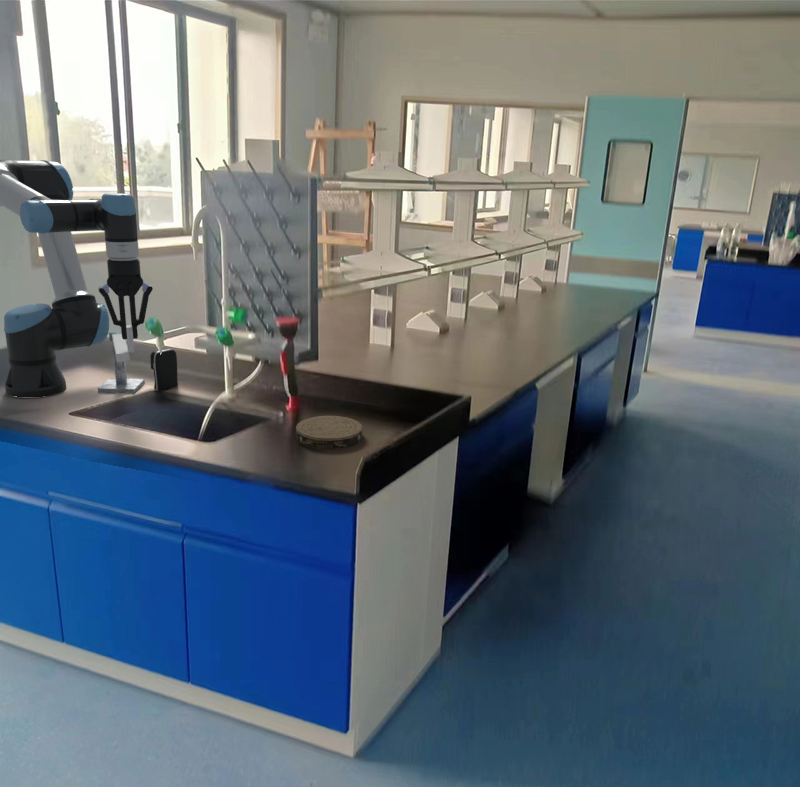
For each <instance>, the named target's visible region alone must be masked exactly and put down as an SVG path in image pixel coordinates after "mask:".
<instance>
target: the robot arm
mask: <svg viewBox="0 0 800 787" xmlns="http://www.w3.org/2000/svg"><path fill="white" fill-rule="evenodd" d="M73 185H74V184H73V181H72V178H71V176H70V174H69V172H68V170H67V169H66V168H65V166H63V165H62V164H61V163H59V162H57V161H50V160H41V159H40V160H24V159H23V160H20V159H19V160H18V159H16V160H15V159H0V207H3V208H6V209H8V210H10V212H12V213H14V214H16V215H17V216H18V217H19V218H20V222H21V224H22V226H23V229H24V230H26V232H28V233H33V234H34V233H35V234H37V235H38V238H39V243H40V245H41V249H42V253H43V256H44V260H45V264H46V267H47V270H48V271H47V272H48V274H49V278H50V282H51V285H52V289H53V293H54V296H55V298H54V299H53V301H52V302H51V306H50V304H48V303H35V304H33V303H32V304H31V303H29V304H24V305H21V306H17V307H14V308H12V309H9V310H8V311H7V312H6V313H5V314H4V316H3V324H4V325H3V331H4V334H5V341H6V348H7V356H8V363H9V364H8V366H9V367H8V370H7V375H6V380H5V384H4V390H5V394H6V395H7V394H8V395H11V396H17V397H40V398H44V397H43V396H46V397H51V396H55V395H58V394H61V393H63V392H64V391H65V390H66V389H67V382H66V378H65V376H64V374H63V372H62V371H61V368H60V367H59V366H60V365H59V364H58V361H57V354H56V352H57V351H64V350H69V349H76V348H82V347H84V348H85V347H88V348H89V347H92V346H96V345H99V344H100V345H101V344H103V343H104V342H105V341H106V339H107V338H108V336H109V330H110V318H111V321H112V325H114V326H117V327H120V329H121V330H120V331H121V332H122V338H123V339H126V344H127V347H128V351H129V354H130V353H131V354H132V353H135V346H134V345H135V344H134V343H135V342H134V339H135V340H137V339H138V337H139V336H138V335H139V334H138V326H139V325H142V324H144V323H145V319H146V314H147V313H146V312H147V308H148V302H149V299H150V298H149V296H150V295H151V293H152V291H153V287H152V285H151V284H148V283H146V282H144V279H143V277H142V276H141V265H140V264H141V262H140V260H139V259H138V258H139V256H140V249H139V239H138V226H137V225H138V224H137V222H138V221H137V208H136V203H135V197H134V195H133V194H131V193H121V192H120V193H119V192H117V193H116V192H115V193H114V192H108V193H106V192H105V193H103V194H102V195H101V198H89V199H73V198H74V190H73V188H74V186H73ZM94 231H97V232H98V231H99V232H100V231H101V232H102V231H103V232H104V240H105V242H104V243H105V252H106V257H107V258H108V259H107V260H106V262H107V275H108V277H107V280H106V283H105V284H104V285H102V286H99V287H98V292H99V293H100V295H101V296H102V298H104V301H105V304H106V306H105V304H104V303H100V302H97V300H96V297H95V295H94V294H93V293H91V292H89V291H88V287H87V285H86V281H85V280H86V279H85V276H84V273H83V270H82V266H81V263H80V259H79V256H78V252H77V249H76V244H75V241H74V238H73V234H72V232H94ZM110 289H111V290H112V292H113V293H114V294H115V295H116V296H117V298H118V310H119V319H118V317H117V314H116V311H115V308H114V306H113V303H112V300H111V298H110V295H109V293H110ZM140 289H141V291H142V292H143V293H142V298H141V303H140V307H139V315H138V318H137V310H136V308H137V307H136V297H135V296H136V295H137V293H138V292H139V290H140ZM125 297H128V298H129V299H128V300H129V312H130V321H131V322H130V324H127V320H126V319H127V318H126V309H125V308H126V307H125V305H126V304H125ZM106 307H107V308H106ZM8 395H7V396H8Z"/></svg>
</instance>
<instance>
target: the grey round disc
mask: <svg viewBox="0 0 800 787" xmlns="http://www.w3.org/2000/svg"><path fill="white" fill-rule="evenodd" d="M362 437H363V425H362V424H361V422H359V421H358V420H356V419H353V418H350V417H347V416H342V415H341V416H339V415H319V416H318V415H317V416H313V417H307V418H305V419H302V420H301V421H299V422H298V423H297V424H296V426H295V438H296V441H297V442H298V443H299V444H301V445H303V446H306V447H308V448H312V449H318V450H341V449H345V448H346V449H347V448H350V447H352V446H355V445H358V444H359V443H360V442H361V441H362Z"/></svg>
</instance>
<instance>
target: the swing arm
mask: <svg viewBox="0 0 800 787" xmlns="http://www.w3.org/2000/svg"><path fill="white" fill-rule="evenodd" d="M108 337H109V341H110V342H112V341H113V342H112V347H113V346H114V350H115V355H116V359H117V362H122V361H126V362H130V361H131V360H130V353H129V351H128V346H127V339H123V338H122V332H121V330H114V331H110V332H109V331H108Z"/></svg>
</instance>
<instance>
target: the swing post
mask: <svg viewBox="0 0 800 787" xmlns="http://www.w3.org/2000/svg"><path fill="white" fill-rule="evenodd" d="M111 342H112V343H113V341H111ZM112 352H113V363H114V365H113V366H114V376H115V378H113V377H112V378H108V379H107V380H106V381H104V382H103V383H102V384H101V385H100V386H99V387H97V393H100V394H104V393H105V394H136V393H137V392H138V391H139V390H140V389H141V387H142V386H143V385H144V384H145V382H146V381H145V378H127V377H128V376H127V375H128V374H127V365H126V364H127V363H126V362H127V361H122V362H117V359H116V355H115V350H114V346H113V345H112Z"/></svg>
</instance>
